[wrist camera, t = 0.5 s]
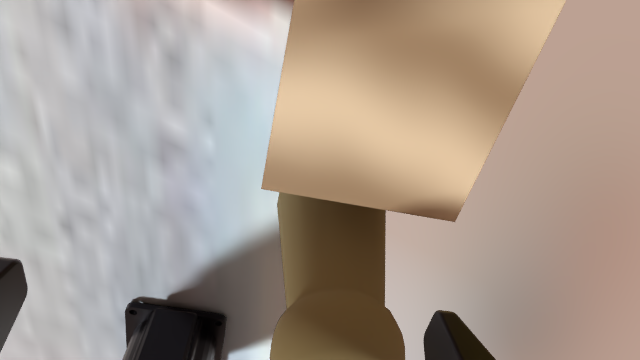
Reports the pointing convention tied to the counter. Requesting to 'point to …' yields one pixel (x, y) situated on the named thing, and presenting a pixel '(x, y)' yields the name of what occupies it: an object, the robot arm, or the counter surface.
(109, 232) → the counter surface
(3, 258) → the robot arm
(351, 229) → the brown bottle
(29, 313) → the counter surface
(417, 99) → the lid
